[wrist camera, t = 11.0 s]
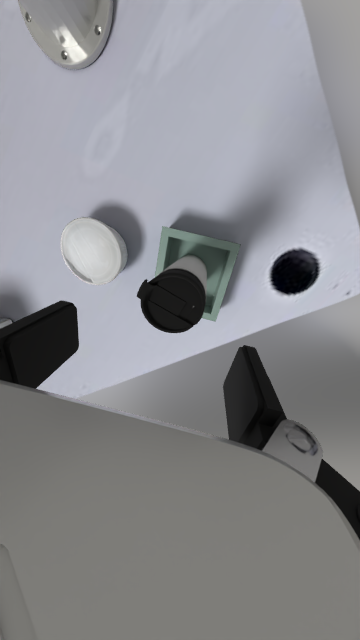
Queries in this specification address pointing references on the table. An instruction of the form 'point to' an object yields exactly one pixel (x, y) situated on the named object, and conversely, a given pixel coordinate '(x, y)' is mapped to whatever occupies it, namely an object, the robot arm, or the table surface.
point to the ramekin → (93, 250)
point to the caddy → (211, 251)
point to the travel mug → (176, 295)
